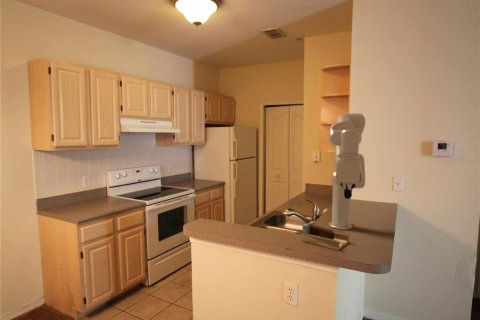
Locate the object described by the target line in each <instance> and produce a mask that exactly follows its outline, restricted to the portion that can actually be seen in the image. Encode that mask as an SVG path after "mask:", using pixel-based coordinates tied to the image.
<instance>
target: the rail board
mask: <svg viewBox="0 0 480 320" xmlns="http://www.w3.org/2000/svg"><path fill="white" fill-rule="evenodd" d="M313 226H316V221H313V220H312V221H309V222H308V223H305V224H303V225H302V232H301V233H300V242H303V243H308V244H312V245H316V246H320V247H324V248H327V249H331V250H335V251H336V250H337V251H339V250H340V249H342V248H343V247H345V246H346V245H347V244H349V242H350V234H345V233H342V232H341V233H340V232H337V231H333V233H334V239H333V240H332V239H327V238H323V237H319V236H314V235H311V227H313Z"/></svg>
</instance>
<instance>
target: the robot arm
mask: <svg viewBox="0 0 480 320" xmlns="http://www.w3.org/2000/svg"><path fill="white" fill-rule="evenodd" d="M365 127H366V118H365V116H364V114H362V113H342V114H340V115H338V116H337V118H336V123H333V124H331V126H330V128H329V131H328V141H329V144H330V145H331V146H333V147H334V151H333V152H334V157H333V158H334V166H335V168H336V169H335V171H333V172H332V173H331V184H332V202H331V203H332V206H331V207H332V209H331V215H332V216H331V221H330V222H328V226H329V227H331V228H333V229H336V230H351V229H353V224H351V222H350V220H351V201H352V200H351V198H352V195H353V190H354V189H363V188H364V187H365V186H366V169H365V157H364V156H363V154H361V153H359V152H360V151H359V149H360V148H359V147H360V143H361V142H362V134H363V132H364V130H365Z"/></svg>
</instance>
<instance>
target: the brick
mask: <svg viewBox="0 0 480 320" xmlns="http://www.w3.org/2000/svg"><path fill="white" fill-rule="evenodd" d="M333 232H334V231H333V229H330V228H325V227H321V226H318V225H315V226H313V227H311V235H314V236H319V237H323V238H327V239H332V240H333V239H334V233H333Z"/></svg>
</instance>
